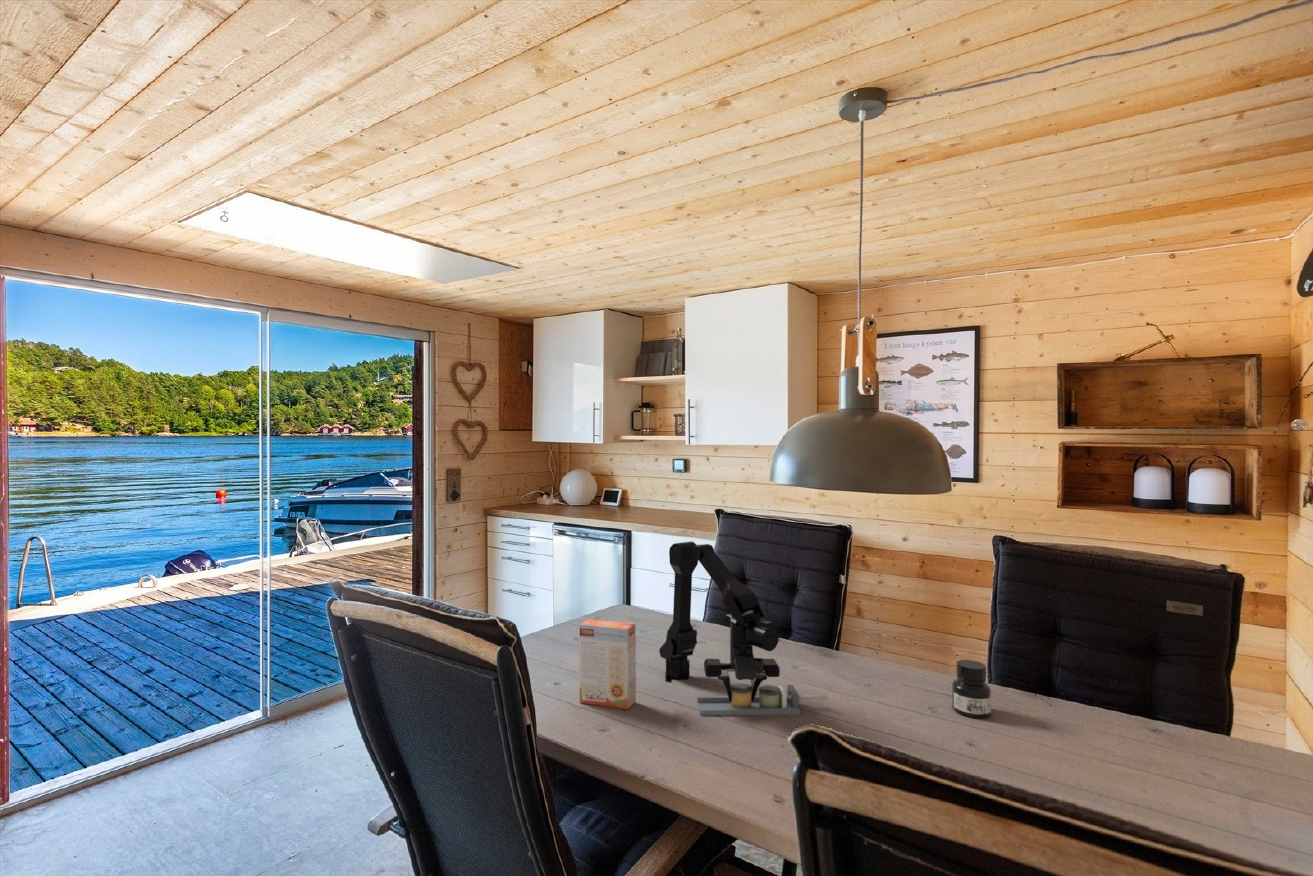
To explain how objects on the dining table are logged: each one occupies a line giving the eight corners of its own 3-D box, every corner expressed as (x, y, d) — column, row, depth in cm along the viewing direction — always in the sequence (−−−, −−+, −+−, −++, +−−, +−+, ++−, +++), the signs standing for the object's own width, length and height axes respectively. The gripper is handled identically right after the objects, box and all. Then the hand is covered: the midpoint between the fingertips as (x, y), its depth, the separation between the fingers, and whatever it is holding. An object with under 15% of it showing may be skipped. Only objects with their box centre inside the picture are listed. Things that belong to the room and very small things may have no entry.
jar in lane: (760, 711, 156) (760, 693, 156) (757, 702, 161) (757, 685, 161) (782, 711, 156) (782, 693, 156) (777, 702, 161) (777, 685, 161)
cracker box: (636, 702, 163) (636, 622, 163) (627, 711, 158) (627, 629, 158) (589, 694, 168) (589, 617, 168) (578, 703, 163) (578, 623, 163)
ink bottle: (952, 715, 155) (952, 667, 155) (948, 702, 163) (948, 656, 164) (995, 721, 152) (995, 672, 152) (990, 707, 160) (989, 661, 160)
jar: (732, 709, 156) (732, 691, 156) (729, 700, 161) (729, 683, 161) (753, 709, 156) (753, 691, 156) (749, 700, 161) (749, 683, 161)
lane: (700, 717, 154) (700, 697, 154) (697, 702, 163) (697, 683, 163) (799, 716, 154) (799, 696, 154) (791, 702, 163) (791, 683, 163)
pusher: (782, 710, 156) (782, 694, 156) (777, 701, 162) (777, 685, 162) (829, 710, 156) (829, 694, 156) (823, 700, 162) (823, 685, 162)
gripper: (708, 651, 150) (708, 715, 150) (784, 650, 151) (784, 715, 151) (703, 636, 162) (703, 696, 161) (775, 636, 162) (774, 696, 162)
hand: (741, 701), depth 159 cm, fingers closed on jar, 5 cm apart
